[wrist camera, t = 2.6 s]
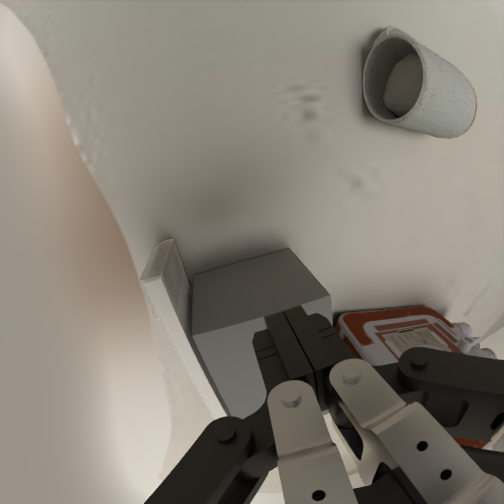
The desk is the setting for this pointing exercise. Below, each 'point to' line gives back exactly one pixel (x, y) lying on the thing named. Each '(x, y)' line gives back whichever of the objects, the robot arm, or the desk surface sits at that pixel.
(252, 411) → the block
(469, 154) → the desk surface
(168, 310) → the side door
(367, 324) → the cine camera
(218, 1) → the desk surface
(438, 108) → the ceramic mug
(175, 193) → the desk surface
